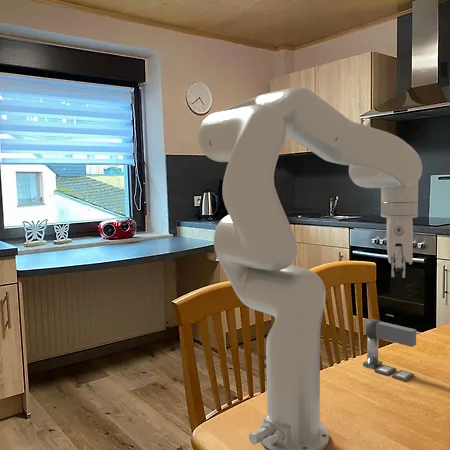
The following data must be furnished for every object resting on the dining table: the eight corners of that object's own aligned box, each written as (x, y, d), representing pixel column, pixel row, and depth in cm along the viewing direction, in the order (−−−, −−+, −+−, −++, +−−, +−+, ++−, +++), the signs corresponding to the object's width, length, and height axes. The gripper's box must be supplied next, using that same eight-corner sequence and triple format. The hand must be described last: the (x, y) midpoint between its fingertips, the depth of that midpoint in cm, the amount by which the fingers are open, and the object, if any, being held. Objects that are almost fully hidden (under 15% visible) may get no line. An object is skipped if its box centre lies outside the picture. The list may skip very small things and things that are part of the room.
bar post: (373, 369, 114) (374, 340, 113) (362, 365, 116) (363, 337, 116) (382, 364, 117) (382, 336, 116) (371, 361, 119) (371, 333, 118)
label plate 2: (405, 381, 107) (405, 379, 107) (392, 377, 109) (392, 374, 109) (414, 375, 110) (414, 373, 110) (401, 371, 112) (401, 369, 112)
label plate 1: (386, 375, 110) (386, 373, 110) (374, 371, 113) (374, 369, 113) (396, 370, 113) (396, 367, 113) (384, 366, 116) (384, 364, 116)
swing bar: (410, 347, 107) (410, 332, 107) (363, 335, 116) (363, 321, 116) (417, 343, 109) (417, 328, 109) (370, 332, 118) (370, 318, 118)
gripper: (419, 213, 92) (417, 303, 94) (416, 207, 108) (414, 285, 110) (379, 213, 95) (378, 301, 97) (381, 207, 111) (381, 283, 113)
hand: (397, 291), depth 103 cm, fingers open, 4 cm apart
